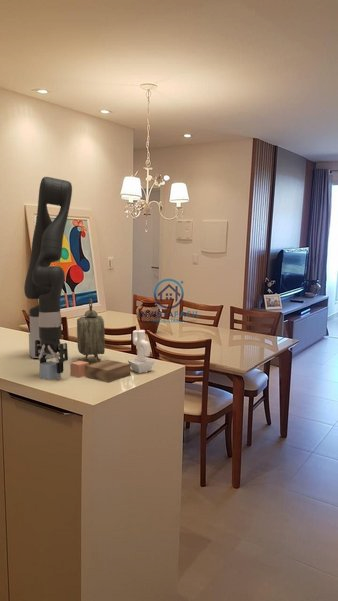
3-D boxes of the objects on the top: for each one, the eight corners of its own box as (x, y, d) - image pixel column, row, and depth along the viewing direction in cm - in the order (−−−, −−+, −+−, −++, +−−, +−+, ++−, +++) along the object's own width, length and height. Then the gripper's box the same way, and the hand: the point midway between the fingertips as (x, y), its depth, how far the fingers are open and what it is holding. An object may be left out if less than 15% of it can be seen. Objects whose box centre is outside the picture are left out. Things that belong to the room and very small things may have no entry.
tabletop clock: (105, 365, 174) (104, 300, 172) (80, 367, 172) (79, 300, 169) (99, 357, 188) (98, 296, 185) (77, 358, 186) (76, 297, 183)
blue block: (39, 378, 157) (39, 363, 157) (51, 374, 161) (51, 361, 161) (49, 380, 154) (48, 365, 154) (60, 377, 158) (60, 363, 158)
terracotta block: (70, 375, 160) (70, 363, 160) (80, 373, 164) (79, 360, 163) (79, 377, 158) (79, 365, 157) (88, 375, 161) (88, 362, 161)
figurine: (139, 375, 160) (139, 333, 159) (126, 369, 168) (125, 329, 166) (156, 372, 164) (156, 331, 163) (143, 366, 172) (143, 327, 170)
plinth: (85, 376, 158) (85, 365, 158) (107, 370, 167) (107, 359, 167) (108, 382, 152) (108, 370, 151) (130, 375, 161) (130, 364, 160)
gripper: (27, 324, 157) (29, 370, 159) (55, 328, 149) (57, 376, 150) (45, 321, 163) (46, 366, 165) (72, 325, 155) (74, 372, 156)
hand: (51, 371), depth 157 cm, fingers open, 8 cm apart
